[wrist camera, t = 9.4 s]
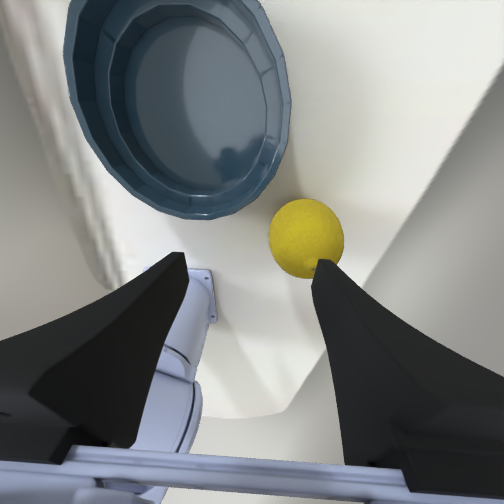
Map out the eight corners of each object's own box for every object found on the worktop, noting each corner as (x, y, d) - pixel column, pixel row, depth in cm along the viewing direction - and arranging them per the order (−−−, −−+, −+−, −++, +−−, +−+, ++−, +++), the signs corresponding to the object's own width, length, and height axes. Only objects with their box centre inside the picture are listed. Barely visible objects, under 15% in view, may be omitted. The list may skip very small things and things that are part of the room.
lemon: (305, 172, 17) (331, 210, 10) (338, 218, 19) (377, 274, 12) (255, 212, 19) (251, 265, 13) (290, 249, 21) (302, 310, 15)
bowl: (277, 205, 19) (279, 222, 16) (139, 201, 19) (116, 217, 16) (296, -18, 11) (308, -65, 8) (70, -16, 12) (4, -61, 9)
